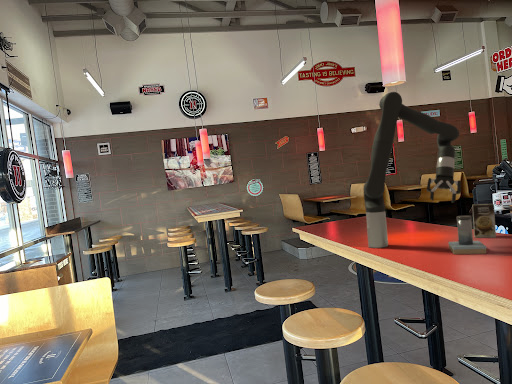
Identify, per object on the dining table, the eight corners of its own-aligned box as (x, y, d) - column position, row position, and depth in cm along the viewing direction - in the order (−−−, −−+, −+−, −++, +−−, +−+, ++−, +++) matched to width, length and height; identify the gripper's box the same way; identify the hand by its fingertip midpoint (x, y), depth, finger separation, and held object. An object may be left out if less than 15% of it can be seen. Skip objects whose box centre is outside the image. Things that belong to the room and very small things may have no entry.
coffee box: (474, 237, 185) (472, 205, 185) (474, 235, 191) (471, 204, 190) (496, 237, 181) (494, 204, 181) (495, 235, 187) (492, 203, 186)
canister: (459, 245, 159) (457, 217, 158) (457, 242, 164) (455, 216, 164) (474, 244, 157) (472, 216, 156) (471, 242, 162) (469, 215, 162)
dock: (453, 254, 156) (453, 247, 156) (448, 248, 168) (448, 241, 168) (486, 253, 153) (486, 246, 153) (479, 247, 164) (478, 240, 164)
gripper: (429, 164, 178) (426, 198, 175) (463, 166, 172) (460, 201, 169) (428, 169, 184) (425, 201, 182) (460, 171, 179) (458, 204, 176)
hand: (442, 201), depth 176 cm, fingers open, 8 cm apart
